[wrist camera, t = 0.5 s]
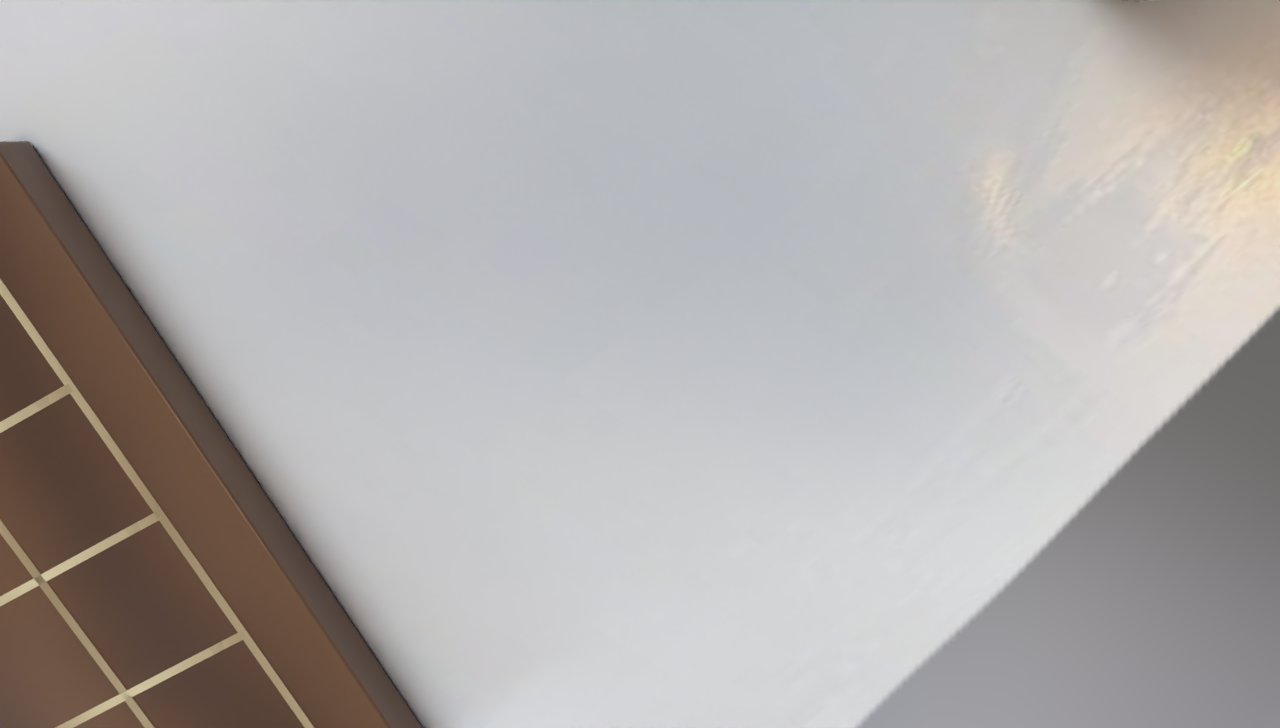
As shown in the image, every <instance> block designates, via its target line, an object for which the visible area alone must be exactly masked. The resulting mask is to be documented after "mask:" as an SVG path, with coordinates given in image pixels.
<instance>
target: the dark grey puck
mask: <svg viewBox="0 0 1280 728" xmlns="http://www.w3.org/2000/svg"><path fill="white" fill-rule="evenodd" d="M1124 1H1136V2H1140V1H1153V0H1124Z"/></svg>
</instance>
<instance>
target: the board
mask: <svg viewBox="0 0 1280 728" xmlns="http://www.w3.org/2000/svg"><path fill="white" fill-rule="evenodd" d="M0 728H422V727H421V725H420V724H419V722H418V721H417V719H416V718H415V716H414V715H413V713H412V712H411V710H410V709H409V707H408V706H407V704H406V703H405V701H404V700H403V698H402V697H401V695H400V694H399V692H398V691H397V689H396V688H395V686H394V685H393V683H392V682H391V680H390V679H389V678H388V676H387V675H386V673H385V672H384V670H383V669H382V667H381V666H380V664H379V663H378V661H377V660H376V658H375V657H374V655H373V654H372V652H371V651H370V649H369V648H368V646H367V645H366V643H365V642H364V640H363V639H362V637H361V636H360V634H359V633H358V631H357V630H356V628H355V627H354V625H353V624H352V622H351V621H350V619H349V618H348V616H347V615H346V613H345V612H344V610H343V609H342V607H341V606H340V604H339V603H338V601H337V600H336V598H335V597H334V596H333V594H332V593H331V591H330V590H329V588H328V587H327V585H326V584H325V582H324V581H323V579H322V578H321V576H320V575H319V573H318V572H317V570H316V569H315V567H314V566H313V564H312V563H311V561H310V560H309V558H308V557H307V555H306V554H305V552H304V551H303V549H302V548H301V546H300V545H299V543H298V542H297V540H296V539H295V537H294V536H293V534H292V533H291V531H290V530H289V528H288V527H287V525H286V524H285V522H284V521H283V519H282V518H281V516H280V515H279V513H278V512H277V511H276V509H275V508H274V506H273V505H272V503H271V502H270V500H269V499H268V497H267V496H266V494H265V493H264V491H263V490H262V488H261V487H260V485H259V484H258V482H257V481H256V479H255V478H254V476H253V475H252V473H251V472H250V470H249V469H248V467H247V466H246V464H245V463H244V461H243V460H242V458H241V457H240V455H239V454H238V452H237V451H236V449H235V448H234V446H233V445H232V443H231V442H230V440H229V439H228V437H227V436H226V434H225V433H224V431H223V430H222V429H221V427H220V426H219V424H218V423H217V421H216V420H215V418H214V417H213V415H212V414H211V412H210V411H209V409H208V408H207V406H206V405H205V403H204V402H203V400H202V399H201V397H200V396H199V394H198V393H197V391H196V390H195V388H194V387H193V385H192V384H191V382H190V381H189V379H188V378H187V376H186V375H185V373H184V372H183V370H182V369H181V367H180V366H179V364H178V363H177V361H176V360H175V358H174V357H173V355H172V354H171V352H170V351H169V349H168V348H167V347H166V345H165V344H164V342H163V341H162V339H161V338H160V336H159V335H158V333H157V332H156V330H155V329H154V327H153V326H152V324H151V323H150V321H149V320H148V318H147V317H146V315H145V314H144V312H143V311H142V309H141V308H140V306H139V305H138V303H137V302H136V300H135V299H134V297H133V296H132V294H131V293H130V291H129V290H128V288H127V287H126V285H125V284H124V282H123V281H122V279H121V278H120V276H119V275H118V273H117V272H116V270H115V269H114V267H113V266H112V265H111V263H110V262H109V260H108V259H107V257H106V256H105V254H104V253H103V251H102V250H101V248H100V247H99V245H98V244H97V242H96V241H95V239H94V238H93V236H92V235H91V233H90V232H89V230H88V229H87V227H86V226H85V224H84V223H83V221H82V220H81V218H80V217H79V215H78V214H77V212H76V211H75V209H74V208H73V206H72V205H71V203H70V202H69V200H68V199H67V197H66V196H65V194H64V193H63V191H62V190H61V188H60V187H59V185H58V184H57V182H56V181H55V180H54V178H53V177H52V175H51V174H50V172H49V171H48V169H47V168H46V166H45V165H44V163H43V162H42V160H41V159H40V157H39V156H38V154H37V153H36V151H35V150H34V148H33V147H32V145H31V144H30V143H29V142H0Z"/></svg>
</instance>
